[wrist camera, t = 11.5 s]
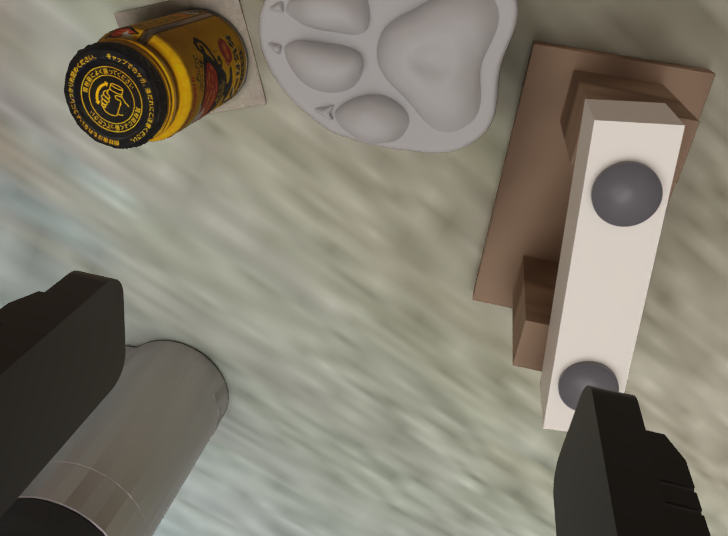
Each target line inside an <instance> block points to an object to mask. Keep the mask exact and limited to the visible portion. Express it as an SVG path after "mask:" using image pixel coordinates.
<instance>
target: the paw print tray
mask: <svg viewBox="0 0 728 536" xmlns="http://www.w3.org/2000/svg"><path fill="white" fill-rule="evenodd" d="M517 16H518V1H517V0H265V2H264V4H263V6H262V9H261V13H260V18H259V38H260V43H261V48H262V52H263V55H264V57H265V59H266V62H267V64H268V66H269V68H270V70H271V72H272V74H273V75H274V77H275V79H276V80H277V82H278V84H279V85H280V87H281V88H282V89H283V91H284V92H285V93H286V94H287V95H288V96H289V98H290V99H291V100H292V101H293V102H295V103H296V104H297V105H298V106H299V107H300V108H301V109H302V110H303V111H304V112H306V113H307V114H308V115H309V116H311V117H312V118H313V119H314V120H315V121H317V122H318V123H319V124H321V125H322V126H323V127H325V128H326V129H328V130H329V131H331V132H333V133H336V134H338V135H341V136H344V137H347V138H350V139H354V140H357V141H360V142H363V143H367V144H371V145H376V146H381V147H386V148H392V149H399V150H411V151H418V152H429V153H443V152H452V151H456V150H459V149H461V148H463V147H466V146H467V145H469V144H471V143H472V142H474V141H475V140H477V139H478V138H479V137H480V136H482V135H483V134H484V133H485V132H486V130H487V129H488V128H489V126H490V124H491V123H492V120H493V118H494V115H495V110H496V104H497V95H498V83H499V73H500V67H501V63H502V60H503V57H504V54H505V52H506V49H507V47H508V45H509V42H510V40H511V37H512V35H513V32H514V29H515V26H516V22H517Z"/></svg>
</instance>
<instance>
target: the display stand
mask: <svg viewBox="0 0 728 536" xmlns="http://www.w3.org/2000/svg"><path fill="white" fill-rule="evenodd" d="M714 77H715V73H713V72H712V71H710V70H706V69H700V68H693V67H687V66H681V65H675V64H669V63H663V62H657V61H651V60H645V59H639V58H633V57H627V56H621V55H615V54H609V53H603V52H597V51H591V50H585V49H579V48H573V47H567V46H561V45H555V44H549V43H543V42H537V41H533V45H532V49H531V53H530V58H529V62H528V66H527V70H526V74H525V78H524V83H523V87H522V91H521V95H520V99H519V104H518V108H517V112H516V116H515V120H514V124H513V129H512V133H511V137H510V141H509V145H508V150H507V154H506V158H505V162H504V166H503V170H502V175H501V179H500V183H499V187H498V191H497V196H496V200H495V204H494V208H493V212H492V217H491V221H490V225H489V229H488V233H487V237H486V242H485V246H484V250H483V254H482V258H481V263H480V267H479V271H478V275H477V279H476V283H475V288H474V292H473V300H476V301H481V302H486V303H491V304H495V305H500V306H505V307H510V308H513V365H515V366H519V367H524V368H528V369H533V370H537V371H542V368H543V362H544V356H545V349H546V343H547V337H548V330H549V324H550V318H551V311H552V305H553V299H554V292H555V286H556V280H557V273H558V267H559V261H560V254H561V248H562V242H563V235H564V229H565V223H566V216H567V210H568V204H569V197H570V191H571V185H572V178H573V172H574V166H575V159H576V153H577V147H578V140H579V134H580V128H581V121H582V115H583V109H584V102H585V99H597V100H616V101H635V102H654V103H665V104H666V105H667V106H668V107H669V108H670V109H671V110H672V111H673V112H674V114H675V115H676V116H677V117H678V118H679V119H680V120H681V121H682V123H683V124H684V125H685V128H684V132H683V137H682V141H681V146H680V150H679V154H678V159H677V163H676V168H675V172H674V176H673V181H672V185H671V190H670V194H669V198H668V202H669V199H670V197H671V194H672V191H673V188H674V186H675V183H677V182H678V179H679V176H680V173H681V171H682V168H683V165H684V163H685V160H686V157H687V154H688V152H689V149H690V146H691V144H692V141H693V138H694V136H695V133H696V130H697V127H698V125H699V122H700V121H699V118H700V115H701V112H702V110H703V107H704V104H705V101H706V99H707V96H708V93H709V91H710V88H711V85H712V82H713V80H714ZM667 205H668V203H667Z"/></svg>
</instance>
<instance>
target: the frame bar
mask: <svg viewBox="0 0 728 536" xmlns="http://www.w3.org/2000/svg"><path fill="white" fill-rule="evenodd" d="M684 128H685V125H684V124H683V123H682V121H681V120H680V119H679V118H678V117H677V116H676V115H675V114H674V112H673V111H672V110H671V109H670V108H669V107H668V106H667V105H666V104H665V103H654V102H635V101H616V100H597V99H585V102H584V109H583V115H582V121H581V128H580V134H579V140H578V147H577V153H576V159H575V166H574V172H573V178H572V185H571V191H570V197H569V204H568V210H567V216H566V223H565V229H564V235H563V242H562V248H561V254H560V261H559V267H558V273H557V280H556V286H555V292H554V299H553V305H552V311H551V318H550V324H549V330H548V337H547V343H546V349H545V356H544V362H543V368H542V375H541V381H540V387H541V403H542V418H543V428H544V429H552V430H560V431H567V432H568V429H569V427H570V424H571V421H572V418H573V415H574V413H575V410H576V407H577V404H578V401H579V399H580V396H581V393H582V391H583V390H584V388H585V387H586V386H587V385H589V386H594V387H598V388H603V389H607V390H612V391H616V392H621V393H624V392H625V387H626V383H627V378H628V374H629V370H630V365H631V361H632V356H633V352H634V348H635V343H636V339H637V334H638V330H639V326H640V321H641V317H642V313H643V308H644V304H645V299H646V295H647V291H648V286H649V282H650V277H651V273H652V269H653V264H654V260H655V255H656V251H657V247H658V242H659V238H660V233H661V229H662V225H663V220H664V216H665V211H666V207H667V203H668V198H669V194H670V190H671V185H672V181H673V176H674V172H675V168H676V163H677V159H678V154H679V150H680V146H681V141H682V137H683V132H684Z"/></svg>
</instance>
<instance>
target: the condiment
mask: <svg viewBox="0 0 728 536" xmlns="http://www.w3.org/2000/svg"><path fill="white" fill-rule="evenodd" d="M114 15H115V18H116V20H117V23H118V26H119V28H118V29H115V30H113V31H110V32H109V33H107V34H105V35H104V36H103V37H102V38H101V39H99V41H98V42H97V43H94V44H92V45H87V46H86V47H85V48H84V49H81V50H79V51H78V52H77V54H76V55H75V56H74V57H73V59H72V60H71V61H70V64H69V66H68V70H67V73H66V78H65V86H64V93H65V97H66V101H67V104H68V106H69V109H70V113H71V114H72V116H73V117H74V119H75V121H76V122H77V124H78V125H79V127H80V128H81V129H82V130H83V131H84V132H86V133H87V134H88V135H89V136H90V137H91V138H92V139H94V140H95V141H97V142H99V143H102V144H105V145H107V146H111V147H113V148H119V149H124V148H126V149H127V148H132V147H138V146H141V145H142V144H145V143H147V142H148V141H151V142H152V141H159V140H163V139H165V138H169V137H171V136H172V135H174V134H175V133H177V132H179V131H181V130H182V129H184V128H186V127H187V126H189V125H190V124H192V123H194V122H195V121H197V120H198V119H201V118H202V117H203V116H205V115H207V114H212V113H217V112H222V111H228V110H234V109H239V108H245V107H250V106H255V105H261V104H266V100H265V96H264V92H263V88H262V84H261V80H260V77H259V72H258V68H257V64H256V61H255V57H254V53H253V49H252V46H251V42H250V38H249V35H248V31H247V27H246V24H245V20H244V17H243V14H242V11H241V7H240V3H239V0H170V1H166V2H162V3H158V4H153V5H149V6H145V7H140V8H136V9H132V10H128V11H123V12H119V13H115V14H114Z"/></svg>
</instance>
